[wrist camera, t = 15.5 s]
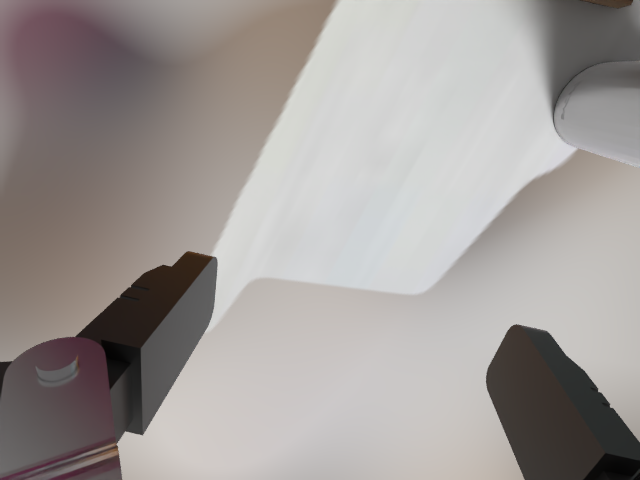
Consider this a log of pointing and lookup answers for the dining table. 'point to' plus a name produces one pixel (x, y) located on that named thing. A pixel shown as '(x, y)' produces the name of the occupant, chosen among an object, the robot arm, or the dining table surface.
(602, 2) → the brown wooden frame
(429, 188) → the dining table surface
